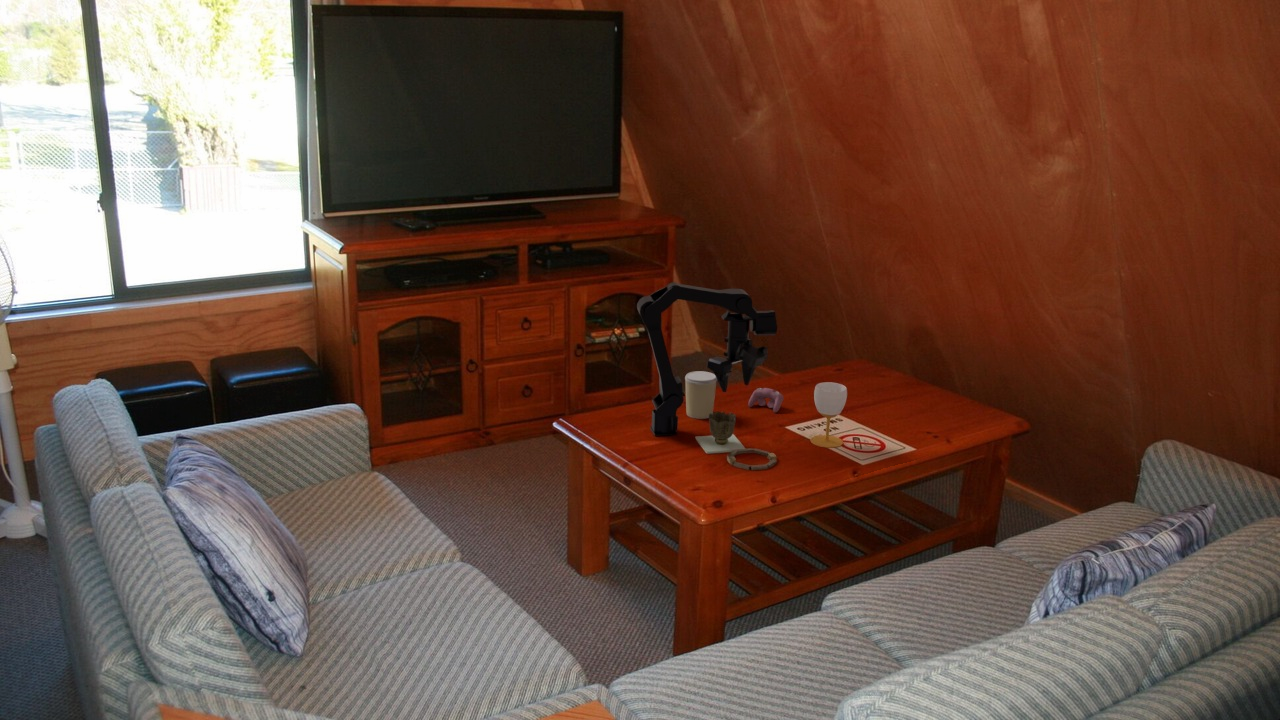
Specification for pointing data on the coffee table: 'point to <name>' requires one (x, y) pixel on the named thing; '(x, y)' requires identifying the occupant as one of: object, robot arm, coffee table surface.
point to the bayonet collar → (770, 456)
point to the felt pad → (713, 447)
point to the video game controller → (766, 393)
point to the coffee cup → (700, 394)
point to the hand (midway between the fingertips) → (735, 388)
